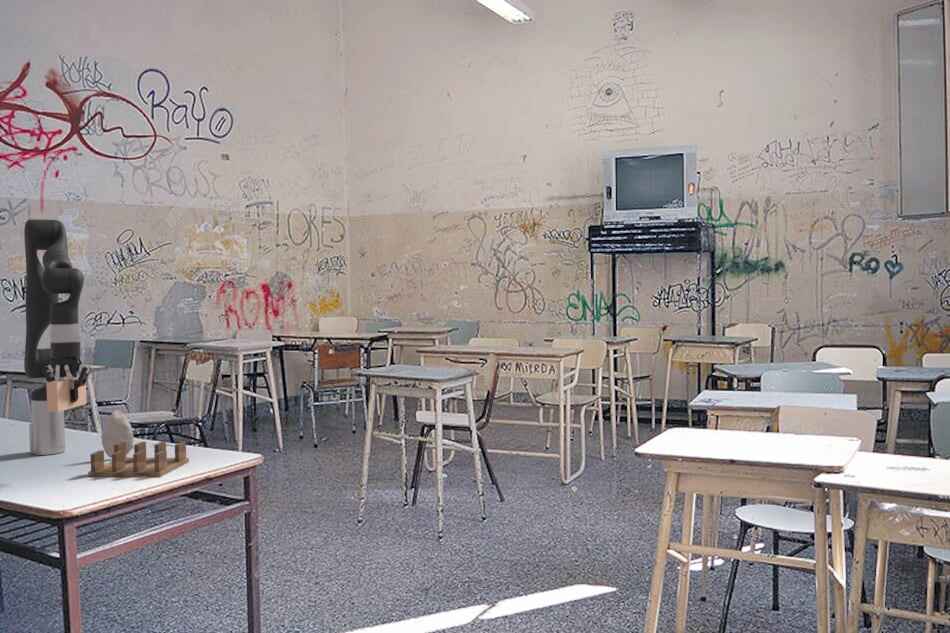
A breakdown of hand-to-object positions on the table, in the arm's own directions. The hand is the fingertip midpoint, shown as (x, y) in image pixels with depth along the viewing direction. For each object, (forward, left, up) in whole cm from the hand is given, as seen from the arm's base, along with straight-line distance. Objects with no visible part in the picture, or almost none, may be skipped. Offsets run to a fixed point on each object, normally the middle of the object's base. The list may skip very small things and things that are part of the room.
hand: (67, 401), depth 240 cm
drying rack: (+15, +10, -21) cm, 28 cm away
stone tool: (+1, +24, -21) cm, 32 cm away
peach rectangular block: (0, 0, -2) cm, 2 cm away
